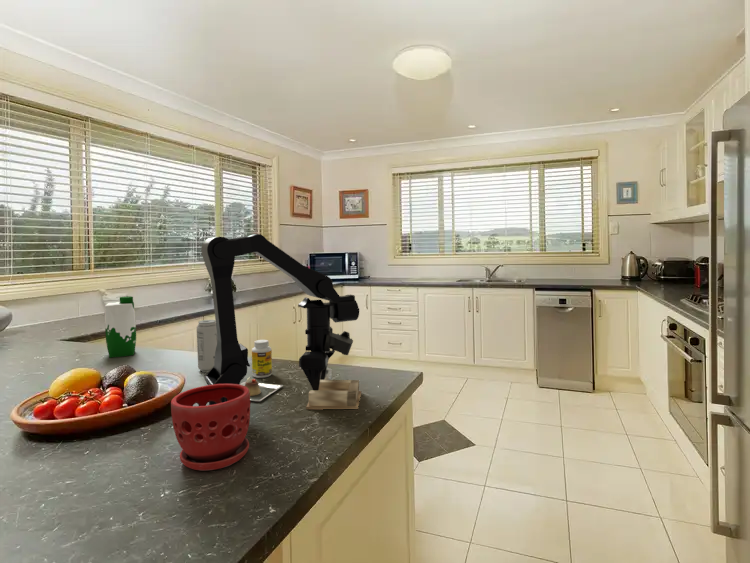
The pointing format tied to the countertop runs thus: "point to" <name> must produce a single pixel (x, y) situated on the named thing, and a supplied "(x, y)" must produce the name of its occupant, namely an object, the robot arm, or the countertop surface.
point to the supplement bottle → (261, 359)
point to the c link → (335, 393)
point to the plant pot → (212, 425)
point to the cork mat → (336, 406)
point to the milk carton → (120, 327)
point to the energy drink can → (206, 344)
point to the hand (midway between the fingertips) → (319, 385)
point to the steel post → (328, 374)
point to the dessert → (255, 389)
